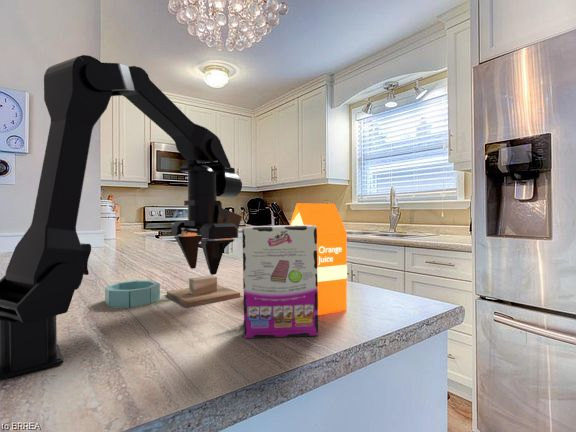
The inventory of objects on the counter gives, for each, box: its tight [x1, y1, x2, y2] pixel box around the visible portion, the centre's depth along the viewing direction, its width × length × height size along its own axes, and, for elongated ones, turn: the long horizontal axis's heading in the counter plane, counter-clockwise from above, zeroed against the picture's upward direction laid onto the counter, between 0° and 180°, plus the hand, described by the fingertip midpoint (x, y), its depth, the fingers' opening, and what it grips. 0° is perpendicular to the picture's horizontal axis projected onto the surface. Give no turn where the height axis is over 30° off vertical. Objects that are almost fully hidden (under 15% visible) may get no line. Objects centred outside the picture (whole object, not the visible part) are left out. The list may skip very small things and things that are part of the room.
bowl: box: [104, 279, 161, 309], centre depth 65 cm, size 9×9×4 cm
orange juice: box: [289, 202, 348, 316], centre depth 63 cm, size 8×9×20 cm
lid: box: [166, 274, 241, 307], centre depth 68 cm, size 11×11×4 cm
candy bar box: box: [242, 224, 319, 339], centre depth 51 cm, size 11×5×16 cm, turn 94°
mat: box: [163, 294, 244, 309], centre depth 68 cm, size 12×12×1 cm
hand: (202, 271), depth 68 cm, fingers open, 9 cm apart
